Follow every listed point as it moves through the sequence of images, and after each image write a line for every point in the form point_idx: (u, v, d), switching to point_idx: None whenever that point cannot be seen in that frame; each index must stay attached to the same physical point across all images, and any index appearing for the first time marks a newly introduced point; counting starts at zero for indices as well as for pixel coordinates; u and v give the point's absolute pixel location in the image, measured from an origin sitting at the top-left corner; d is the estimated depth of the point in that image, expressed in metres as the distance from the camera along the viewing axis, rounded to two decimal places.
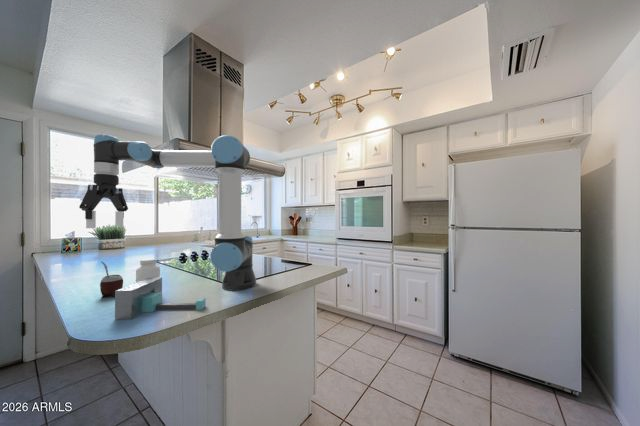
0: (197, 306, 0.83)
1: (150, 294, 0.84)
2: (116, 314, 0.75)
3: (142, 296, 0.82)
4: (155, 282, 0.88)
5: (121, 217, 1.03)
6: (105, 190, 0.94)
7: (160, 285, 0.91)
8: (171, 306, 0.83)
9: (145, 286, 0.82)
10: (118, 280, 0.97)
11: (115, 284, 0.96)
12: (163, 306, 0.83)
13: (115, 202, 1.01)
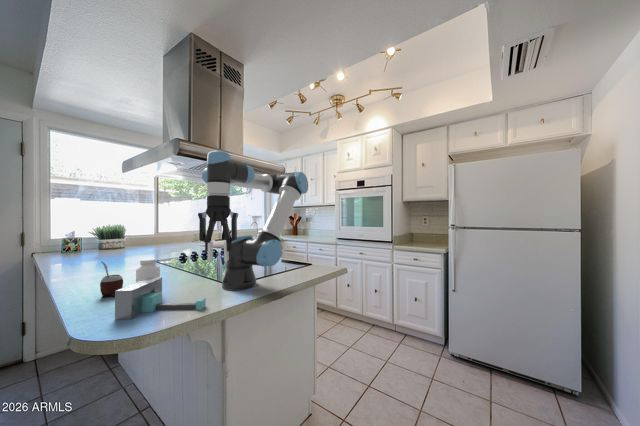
0: (197, 306, 0.83)
1: (150, 294, 0.84)
2: (116, 314, 0.75)
3: (142, 296, 0.82)
4: (155, 282, 0.88)
5: None
6: (211, 215, 0.84)
7: (160, 285, 0.91)
8: (171, 306, 0.83)
9: (145, 286, 0.82)
10: (118, 280, 0.97)
11: (115, 284, 0.96)
12: (163, 306, 0.83)
13: None
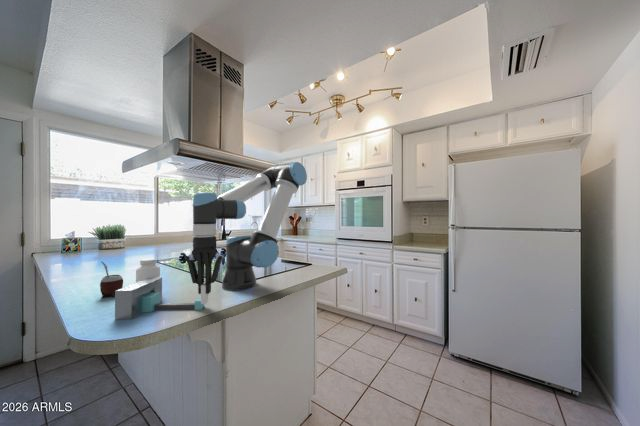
0: (196, 306, 0.83)
1: (149, 294, 0.84)
2: (116, 314, 0.75)
3: (141, 296, 0.82)
4: (155, 282, 0.88)
5: None
6: None
7: (160, 285, 0.91)
8: (170, 306, 0.83)
9: (145, 286, 0.82)
10: (118, 280, 0.97)
11: (115, 284, 0.96)
12: (162, 306, 0.83)
13: None
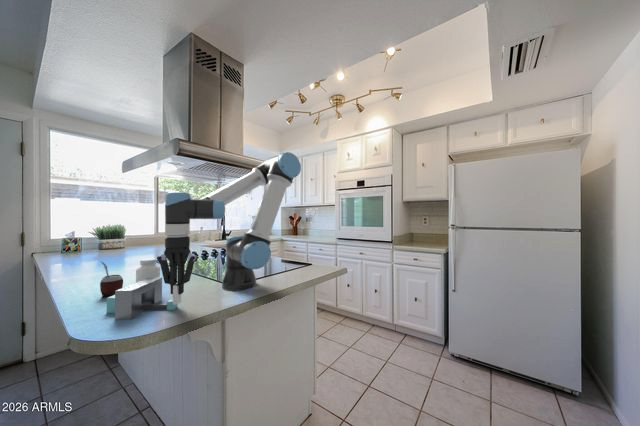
0: (168, 306, 0.83)
1: None
2: (116, 314, 0.75)
3: (112, 297, 0.81)
4: (155, 282, 0.88)
5: None
6: None
7: (160, 285, 0.91)
8: (142, 307, 0.83)
9: (145, 286, 0.82)
10: (118, 280, 0.97)
11: (115, 284, 0.96)
12: None
13: None
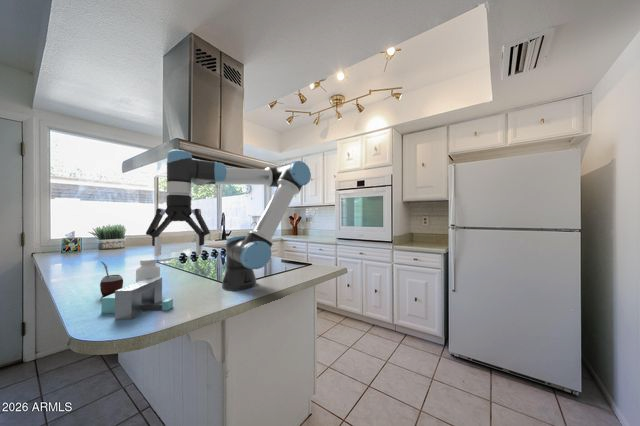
0: (163, 307, 0.83)
1: None
2: (116, 314, 0.75)
3: (107, 297, 0.81)
4: (155, 282, 0.88)
5: None
6: (170, 213, 0.83)
7: (160, 285, 0.91)
8: None
9: (145, 286, 0.82)
10: (118, 280, 0.97)
11: (115, 284, 0.96)
12: None
13: None
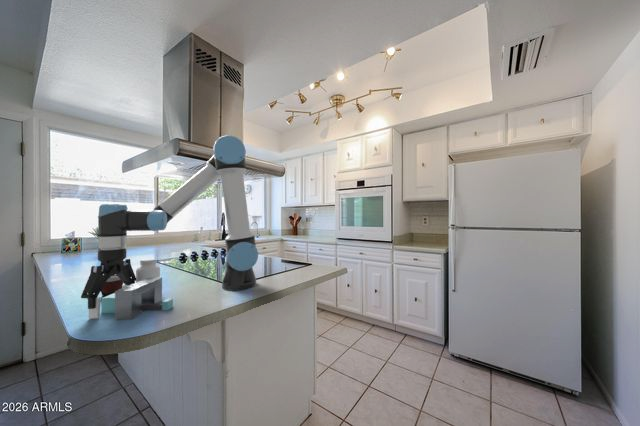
0: (163, 307, 0.83)
1: None
2: (116, 314, 0.75)
3: (107, 297, 0.81)
4: (155, 282, 0.88)
5: None
6: (111, 268, 0.81)
7: (160, 285, 0.91)
8: None
9: (145, 286, 0.82)
10: (118, 280, 0.97)
11: (115, 284, 0.96)
12: None
13: (122, 276, 0.87)
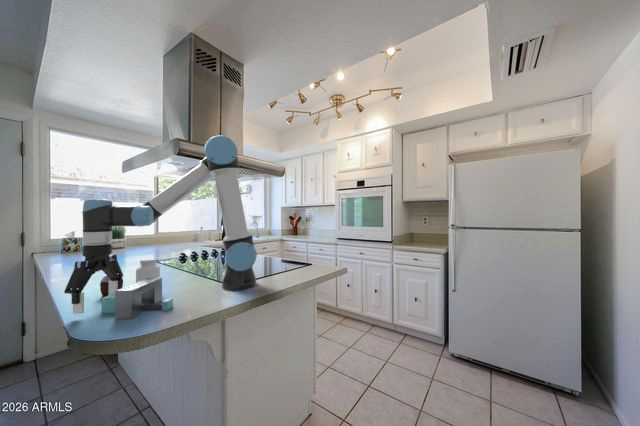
0: (163, 307, 0.83)
1: None
2: (116, 314, 0.75)
3: (107, 297, 0.81)
4: (155, 282, 0.88)
5: (115, 288, 0.89)
6: (96, 264, 0.81)
7: (160, 285, 0.91)
8: None
9: (145, 286, 0.82)
10: (118, 280, 0.97)
11: None
12: None
13: (108, 272, 0.87)
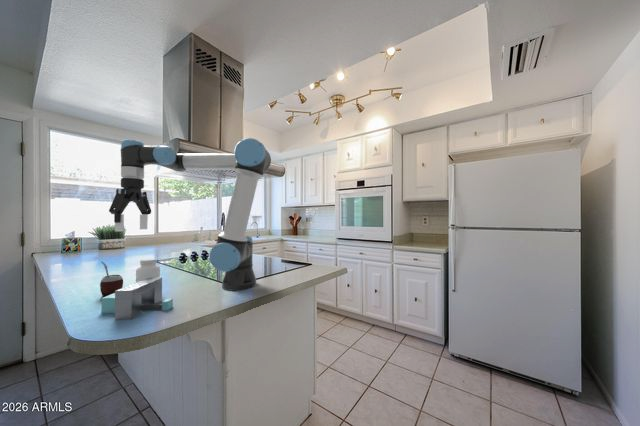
0: (163, 307, 0.83)
1: None
2: (116, 314, 0.75)
3: (107, 297, 0.81)
4: (155, 282, 0.88)
5: (145, 220, 1.05)
6: (132, 194, 0.96)
7: (160, 285, 0.91)
8: None
9: (145, 286, 0.82)
10: (118, 280, 0.97)
11: (115, 284, 0.96)
12: None
13: (140, 205, 1.02)
